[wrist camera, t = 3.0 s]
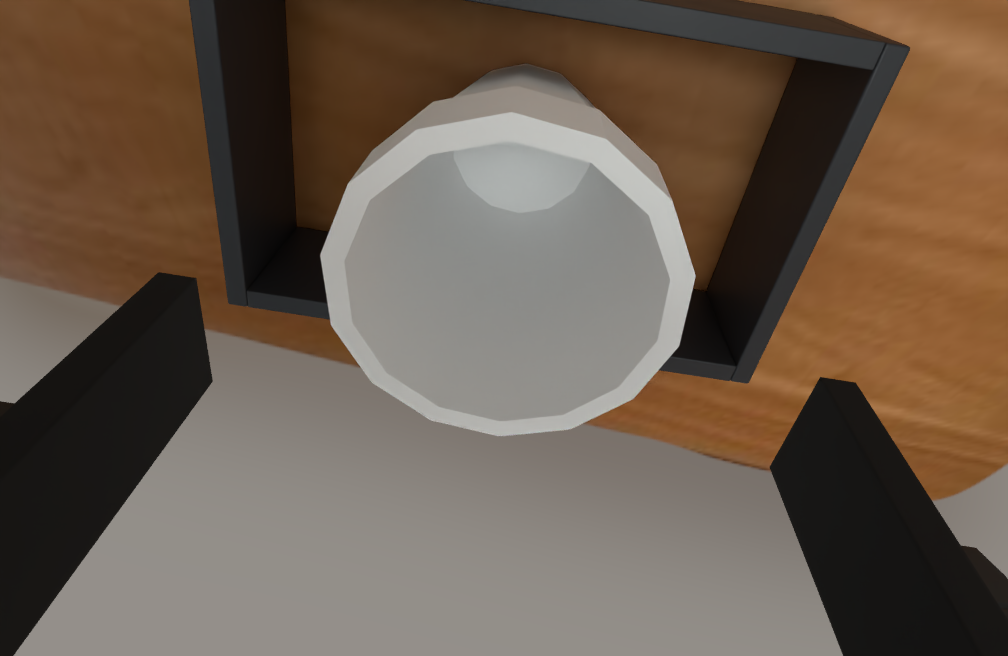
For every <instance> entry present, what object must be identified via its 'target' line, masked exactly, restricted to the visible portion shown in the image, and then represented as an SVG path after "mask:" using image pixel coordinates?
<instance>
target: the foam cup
mask: <svg viewBox="0 0 1008 656" xmlns="http://www.w3.org/2000/svg"><path fill="white" fill-rule="evenodd" d="M320 257H321V264H322V270H323V277H324V283H325V290H326V296H327V302H328V309H329V315H330V322H331V326H332V327H333V329H334V330H335V332H336V333H337V334H338V336H339V337H340V339H341V340H342V342H343V343H344V344H345V346H346V347H347V349H348V350H349V351H350V353H351V354H352V356H353V357H354V358H355V360H356V361H357V363H358V364H359V366H360V367H361V368H362V370H363V371H364V373H365V374H366V375H367V377H368V378H369V380H370V381H371V383H373V384H375V385H376V386H378V387H379V388H381V389H382V390H384V391H386V392H387V393H389V394H391V395H392V396H394V397H395V398H397V399H398V400H400V401H401V402H403V403H404V404H406V405H408V406H409V407H411V408H412V409H414V410H415V411H417V412H418V413H420V414H422V415H423V416H425V417H427V418H428V419H430V420H431V421H435V422H440V423H444V424H449V425H453V426H457V427H461V428H466V429H470V430H474V431H478V432H483V433H487V434H491V435H496V436H510V435H519V434H529V433H540V432H550V431H559V430H570V429H572V428H574V427H576V426H578V425H580V424H582V423H585V422H587V421H589V420H591V419H593V418H595V417H597V416H599V415H601V414H603V413H605V412H607V411H609V410H612V409H614V408H616V407H618V406H620V405H622V404H624V403H626V402H628V401H630V400H632V399H634V398H635V396H636V395H637V394H638V393H639V392H640V391H641V390H642V388H643V387H644V386H645V385H646V384H647V383H648V382H649V380H650V379H651V378H652V377H653V376H654V375H655V373H656V372H657V371H658V370H659V369H660V368H661V367H662V365H663V364H664V363H665V362H666V361H667V360H668V358H669V357H670V356H671V355H672V354H673V353H674V352H675V350H676V349H677V348H678V347H679V345H680V341H681V336H682V332H683V328H684V324H685V319H686V315H687V311H688V307H689V303H690V298H691V294H692V290H693V286H694V281H695V277H696V275H695V272H694V269H693V266H692V262H691V259H690V256H689V253H688V250H687V246H686V243H685V240H684V237H683V233H682V230H681V227H680V224H679V220H678V217H677V214H676V211H675V208H674V204H673V201H672V199H671V196H670V194H669V191H668V189H667V187H666V184H665V182H664V180H663V177H662V175H661V172H660V170H659V168H658V165H657V164H656V163H655V162H654V161H653V160H652V159H651V158H650V157H649V156H647V155H646V154H645V153H644V152H643V151H642V150H641V149H640V148H639V147H638V146H637V145H636V144H635V143H634V142H633V141H632V140H631V139H630V138H629V137H628V136H626V135H625V134H624V133H623V132H622V131H621V130H620V129H619V128H618V127H617V126H616V125H615V124H614V123H613V122H612V121H611V120H610V119H609V118H608V117H607V116H605V115H604V114H603V113H602V112H601V111H600V110H599V109H596V108H595V107H594V105H593V104H592V103H591V102H590V101H589V100H588V99H587V98H586V97H585V96H584V95H583V94H582V93H581V92H580V91H579V90H578V89H577V88H575V87H574V86H573V85H572V84H571V83H570V82H569V81H568V80H567V79H566V78H565V77H564V76H563V75H562V74H561V73H558V72H554V71H551V70H548V69H544V68H541V67H537V66H534V65H530V64H527V63H526V64H521V65H516V66H511V67H506V68H501V69H495V70H492V71H490V72H488V73H487V74H485V75H484V76H483V77H481V78H480V79H478V80H477V81H476V82H474V83H473V84H471V85H470V86H468V87H467V88H466V89H464V90H463V91H461V92H460V93H459V94H457V95H456V96H454V97H453V98H449V99H444V100H439V101H433V102H432V103H431V104H429V105H428V106H427V107H426V108H424V109H423V110H422V111H421V112H419V113H418V114H417V115H416V116H415V117H413V118H412V119H411V120H410V121H408V122H407V123H406V124H405V125H403V126H402V127H401V128H400V129H398V130H397V131H396V132H395V133H393V134H392V135H391V136H390V137H388V138H387V139H386V140H385V141H383V142H382V143H381V144H380V145H378V146H377V147H376V148H375V149H373V150H372V151H371V153H370V154H369V155H368V157H367V158H366V160H365V161H364V162H363V164H362V165H361V166H360V168H359V169H358V171H357V172H356V173H355V175H354V176H353V177H352V179H351V180H350V182H349V183H348V185H347V187H346V190H345V192H344V195H343V198H342V200H341V203H340V205H339V208H338V210H337V213H336V216H335V218H334V221H333V223H332V226H331V228H330V231H329V234H328V236H327V239H326V241H325V244H324V246H323V249H322V251H321V254H320Z"/></svg>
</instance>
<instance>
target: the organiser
mask: <svg viewBox="0 0 1008 656" xmlns="http://www.w3.org/2000/svg"><path fill="white" fill-rule="evenodd" d="M465 1H471V2H477V3H483V4H489V5H494V6H500V7H506V8H512V9H518V10H523V11H529V12H535V13H541V14H547V15H552V16H558V17H564V18H570V19H576V20H582V21H587V22H593V23H599V24H605V25H611V26H616V27H622V28H628V29H634V30H640V31H645V32H651V33H657V34H663V35H669V36H674V37H680V38H686V39H692V40H698V41H704V42H709V43H715V44H721V45H727V46H733V47H738V48H744V49H750V50H756V51H762V52H767V53H773V54H779V55H785V56H791V57H797V58H798V59H797V62H796V64H795V67H794V69H793V72H792V75H791V77H790V80H789V82H788V85H787V87H786V90H785V92H784V95H783V98H782V100H781V103H780V105H779V108H778V110H777V113H776V115H775V118H774V121H773V123H772V126H771V128H770V131H769V133H768V136H767V139H766V141H765V144H764V146H763V149H762V151H761V154H760V156H759V159H758V162H757V164H756V167H755V169H754V172H753V174H752V177H751V179H750V182H749V185H748V187H747V190H746V192H745V195H744V197H743V200H742V203H741V205H740V208H739V210H738V213H737V215H736V218H735V220H734V223H733V226H732V228H731V231H730V233H729V236H728V238H727V241H726V243H725V246H724V249H723V251H722V254H721V256H720V259H719V261H718V264H717V266H716V269H715V272H714V274H713V277H712V279H711V282H710V284H709V287H708V290H707V292H703V291H697V290H692V294H691V298H690V303H689V307H688V311H687V315H686V319H685V324H684V328H683V332H682V336H681V341H680V345H679V347H678V348H677V349H676V350H675V352H674V353H673V354H672V355H671V356H670V357H669V358H668V360H667V361H666V362H665V363H664V364H663V365H662V367H661V368H660V369H659V370H661V371H668V372H674V373H681V374H687V375H694V376H700V377H707V378H713V379H720V380H726V381H730V380H731V381H734V382H741V383H749V381H750V379H751V377H752V375H753V373H754V371H755V369H756V367H757V365H758V362H759V360H760V358H761V356H762V354H763V352H764V350H765V348H766V346H767V344H768V342H769V340H770V338H771V336H772V334H773V332H774V329H775V327H776V325H777V323H778V321H779V319H780V317H781V315H782V313H783V311H784V309H785V307H786V305H787V303H788V301H789V298H790V296H791V294H792V292H793V290H794V288H795V286H796V284H797V282H798V280H799V278H800V276H801V274H802V272H803V270H804V267H805V265H806V263H807V261H808V259H809V257H810V255H811V253H812V251H813V249H814V247H815V245H816V243H817V241H818V239H819V237H820V234H821V232H822V230H823V228H824V226H825V224H826V222H827V220H828V218H829V216H830V214H831V212H832V210H833V208H834V206H835V203H836V201H837V199H838V197H839V195H840V193H841V191H842V189H843V187H844V185H845V183H846V181H847V179H848V177H849V175H850V172H851V170H852V168H853V166H854V164H855V162H856V160H857V158H858V156H859V154H860V152H861V150H862V148H863V146H864V144H865V142H866V139H867V137H868V135H869V133H870V131H871V129H872V127H873V125H874V123H875V121H876V119H877V117H878V115H879V113H880V111H881V108H882V106H883V104H884V102H885V100H886V98H887V96H888V94H889V92H890V90H891V88H892V86H893V84H894V82H895V80H896V77H897V75H898V73H899V71H900V69H901V67H902V65H903V63H904V61H905V59H906V57H907V55H908V53H909V51H910V47H909V46H907V45H904V44H902V43H899V42H897V41H894V40H891V39H889V38H886V37H883V36H881V35H878V34H876V33H873V32H870V31H868V30H865V29H862V28H860V27H857V26H855V25H852V24H849V23H847V22H844V21H842V20H839V19H836V18H834V17H828V16H823V15H815V14H812V13H806V12H800V11H795V10H789V9H783V8H777V7H772V6H766V5H760V4H755V3H749V2H743V1H737V0H465ZM189 5H190V12H191V20H192V28H193V35H194V43H195V51H196V58H197V66H198V74H199V81H200V89H201V97H202V104H203V112H204V120H205V128H206V135H207V143H208V151H209V158H210V166H211V174H212V181H213V189H214V197H215V204H216V212H217V220H218V227H219V235H220V243H221V250H222V258H223V266H224V274H225V281H226V289H227V297H228V303H229V304H233V305H240V306H248V307H252V308H259V309H265V310H272V311H278V312H285V313H291V314H298V315H304V316H311V317H317V318H324V319H330V315H329V309H328V302H327V296H326V290H325V283H324V277H323V270H322V264H321V257H320V254H321V251H322V249H323V246H324V244H325V241H326V239H327V236H328V234H329V232H325V231H319V230H313V229H306V228H300V227H297V228H296V213H295V193H294V173H293V154H292V134H291V115H290V95H289V76H288V56H287V37H286V17H285V0H189Z"/></svg>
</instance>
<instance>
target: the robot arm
mask: <svg viewBox="0 0 1008 656" xmlns="http://www.w3.org/2000/svg"><path fill="white" fill-rule="evenodd" d="M211 383H212V374H211V369H210V362H209V355H208V350H207V343H206V337H205V330H204V324H203V318H202V311H201V305H200V299H199V293H198V286H197V280H196V278H192V277H185V276H179V275H173V274H166V273H160V272H159V273H157V274H156V275H155V276H154V277H153V278H152V279H151V280H150V281H149V282H148V283H146V284H145V285H144V286H143V287H142V288H141V289H140V290H139V291H138V292H137V293H135V294H134V295H133V296H132V297H131V298H130V299H129V300H128V301H127V302H126V303H125V304H123V305H122V306H121V307H120V308H119V309H118V310H117V311H116V312H115V313H114V314H112V315H111V316H110V317H109V318H108V319H107V320H106V321H105V322H104V323H103V324H102V325H100V326H99V327H98V328H97V329H96V330H95V331H94V332H93V333H92V334H90V335H89V336H88V337H87V338H86V339H85V340H84V341H83V342H82V343H81V344H80V345H78V346H77V347H76V348H75V349H74V350H73V351H72V352H71V353H70V354H69V355H68V356H66V357H65V358H64V359H63V360H62V361H61V362H60V363H59V364H58V365H57V366H55V367H54V368H53V369H52V370H51V371H50V372H49V373H48V374H47V375H46V376H44V377H43V378H42V379H41V380H40V381H39V382H38V383H37V384H36V385H35V386H33V387H32V388H31V389H30V390H29V391H28V392H27V393H26V394H25V395H24V396H22V397H21V398H20V399H19V400H18V401H17V402H16V403H15V404H14V403H7V402H1V401H0V656H13V655H14V654H15V653H16V651H17V650H18V649H19V647H20V646H21V644H22V643H23V642H24V640H25V639H26V638H27V636H28V635H29V633H30V632H31V631H32V629H33V628H34V626H35V625H36V624H37V622H38V621H39V620H40V618H41V617H42V616H43V614H44V613H45V611H46V610H47V609H48V607H49V606H50V604H51V603H52V602H53V600H54V599H55V598H56V596H57V595H58V593H59V592H60V591H61V589H62V588H63V587H64V585H65V584H66V582H67V581H68V580H69V578H70V577H71V576H72V574H73V573H74V571H75V570H76V569H77V567H78V566H79V565H80V563H81V562H82V560H83V559H84V558H85V556H86V555H87V554H88V552H89V550H90V549H91V548H92V547H93V545H94V544H95V543H96V541H97V540H98V538H99V537H100V536H101V534H102V533H103V531H104V530H105V529H106V527H107V526H108V525H109V523H110V522H111V521H112V519H113V517H114V516H115V515H116V514H117V512H118V511H119V510H120V508H121V507H122V505H123V504H124V503H125V501H126V500H127V498H128V497H129V496H130V494H131V493H132V492H133V490H134V489H135V488H136V486H137V485H138V483H139V482H140V481H141V479H142V478H143V476H144V475H145V474H146V472H147V471H148V470H149V468H150V467H151V466H152V464H153V463H154V461H155V460H156V459H157V457H158V456H159V454H160V453H161V452H162V450H163V449H164V448H165V446H166V445H167V443H168V442H169V441H170V439H171V438H172V437H173V435H174V434H175V432H176V431H177V429H178V428H179V427H180V426H181V424H182V423H183V421H184V420H185V419H186V417H187V416H188V415H189V413H190V412H191V410H192V409H193V408H194V406H195V405H196V404H197V402H198V401H199V399H200V398H201V396H202V395H203V394H204V392H205V391H206V390H207V388H208V387H209V386H210V384H211ZM770 469H771V472H772V475H773V477H774V480H775V482H776V485H777V487H778V490H779V492H780V495H781V498H782V500H783V503H784V505H785V508H786V510H787V513H788V515H789V518H790V521H791V523H792V526H793V528H794V531H795V533H796V536H797V539H798V541H799V543H800V546H801V548H802V551H803V554H804V556H805V559H806V562H807V564H808V567H809V569H810V572H811V574H812V577H813V579H814V582H815V585H816V587H817V590H818V592H819V595H820V597H821V600H822V602H823V605H824V608H825V610H826V613H827V615H828V618H829V620H830V623H831V625H832V628H833V631H834V633H835V635H836V638H837V641H838V643H839V646H840V649H841V651H842V654H843V656H1008V579H1007V578H1006V576H1005V575H1004V574H1003V573H1001V572H1000V571H999V569H997V568H996V567H995V566H994V565H993V564H992V563H991V562H990V561H989V560H988V559H987V558H986V557H985V556H984V555H983V554H982V553H981V552H980V551H979V550H978V549H977V548H973V547H967V546H961V545H960V544H959V542H958V541H957V539H956V538H955V536H954V535H953V533H952V531H951V530H950V528H949V527H948V525H947V524H946V522H945V521H944V519H943V518H942V516H941V514H940V513H939V512H938V510H937V508H936V507H935V505H934V504H933V502H932V500H931V499H930V497H929V496H928V494H927V493H926V491H925V490H924V488H923V486H922V485H921V483H920V482H919V480H918V479H917V477H916V476H915V474H914V472H913V471H912V469H911V468H910V466H909V465H908V463H907V462H906V460H905V459H904V457H903V455H902V454H901V452H900V451H899V449H898V448H897V446H896V445H895V443H894V441H893V440H892V438H891V437H890V435H889V434H888V432H887V431H886V429H885V427H884V426H883V424H882V423H881V421H880V420H879V418H878V417H877V415H876V414H875V412H874V410H873V409H872V407H871V406H870V404H869V403H868V401H867V400H866V398H865V396H864V395H863V393H862V392H861V390H860V389H859V387H858V386H857V384H856V383H854V382H848V381H841V380H835V379H829V378H822V377H820V379H819V380H818V382H817V384H816V386H815V388H814V389H813V391H812V393H811V395H810V396H809V398H808V400H807V402H806V404H805V405H804V407H803V409H802V411H801V412H800V414H799V416H798V418H797V420H796V421H795V423H794V425H793V427H792V428H791V430H790V432H789V434H788V435H787V437H786V439H785V441H784V443H783V444H782V446H781V448H780V450H779V451H778V453H777V455H776V457H775V459H774V460H773V462H772V464H771V466H770Z"/></svg>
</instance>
